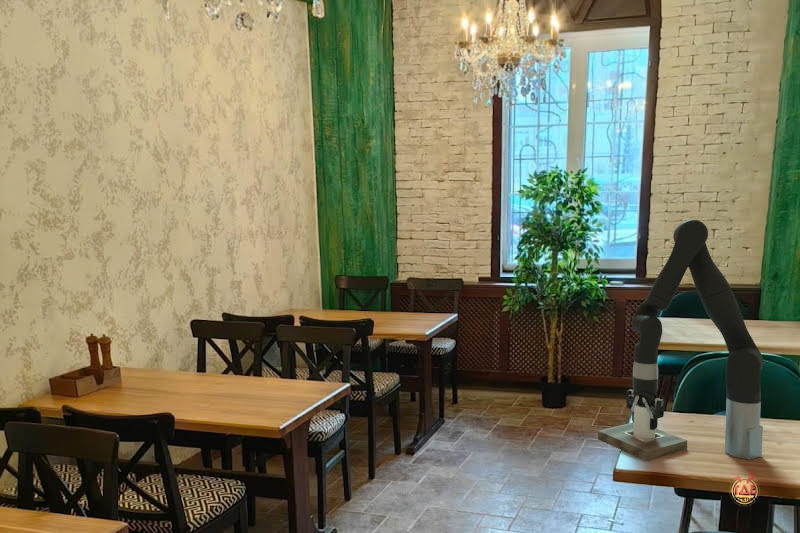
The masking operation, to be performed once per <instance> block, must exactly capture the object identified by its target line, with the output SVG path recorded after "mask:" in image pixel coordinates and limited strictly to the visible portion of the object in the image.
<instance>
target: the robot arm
mask: <svg viewBox="0 0 800 533" xmlns="http://www.w3.org/2000/svg"><path fill="white" fill-rule="evenodd" d="M708 237H709V230H708V228H707V225H705V223H704V222H702V221H700V220H698V219H688V220H685V221H683V222H681V223H680V224H679V225H677V227H676V228H675V229H674V231H673V241H674V245H673V248H672V249H671V252H670V254H669V256H668V259H667V260H666V263H665V264H664V266H663V267H662V269H661V270H660V272H659V274H658V275H657V277H656V279H655V281H654V282H653V284H652V286H651V289H650V290H649V292H648V294H647V297H646V298H645V300H644V301H643V302H642V303H641V304H640V306H639V307H638V309H637V310H636V311H635V313H634V314H633V316H632V319H631V328H632V330H633V331H634V332H635V333H636V334H639V335H640V338H639V342H637V343H636V344H635V345H634V350H633V365H632V366H633V368H632V389H626V391H625V402H626V409H629V410H630V411H631V421H632V423H634V407H635V406H636V405H637V404H639V405H641V406H644V407H647V408H646V409H647V411H648V412H649V415H650V417H651V418H650V429H651V430H655V429H658V425H659V424H658V420H659V419H661V418H664V417H665V416H664V415H665V406H666V399H661V398H658V396H657V392H658V391H659V390H658V389H659V365H658V360H659V359H658V358H659V354H658V350H659V347H660V344H661V340H662V335H663V324H662V322H661V320H660V318H659V317H658V316H659V314H660V313H661V312H664V311H667V310H668V308H669V307H670V305H671V303H672V301H673V299H674V296H675V295H676V293H677V291H678V289H679V286H680V284H681V282H682V280H683V277H684V276H685V274H686V272H687V270H688V269H689V272H690V276H691V278H692V280H693V283H694V286H695V289H696V291H697V293H698V296H699V299H700V301H701V304H702V306H703V309H704V310H705V312H706V314H707V315H708V318H710V320H711V321H712V323H713V324H714V325H715V327H716V328H717V329H718V331H719V332H720V334H721V336H722V338H723V341H724V342H725V345H726V348H727V351H728V354H729V356H728V357H727V359H726V364H725V365H726V367H725V390H726V403H725V406H726V407H725V408H726V409H725V411H726V412H725V429H724V432H725V433H724V453H726V454H728V455H729V456H732V457H735V458H738V459H744V460H748V461H750V460H754V459H758V458H760V457H762V456H763V454H762V453H763V431H764V426H762V425H761V423H760V421H761V409H762V408H761V405H762V403H761V402H762V392H761V374H762V369H763V368H764V357H763V355H762V352H761V351H760V350H759V348H758V346H757V345H756V343H755V341H754V339H753V338H752V336H751V334H750V332H749V330H748V327H747V326H746V324H745V321H744V317H743V314H742V313H741V312H742V311H741V309H740V307H739V304H738V302H737V299H736V297H735V294H734V293H733V289H732V288H731V285H730V284H729V282H728V280H727V279H726V277H725V275H724V274H723V273H722V271H721V270H720V269H719V267H718V266H717V265H716V264H715V262H714V260H713V258H712V256H711V253H710V251H709V249H708V245H707V240H708ZM653 406H654V407H653ZM650 407H653V408H650ZM653 411H654V414H653Z"/></svg>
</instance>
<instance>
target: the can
mask: <svg viewBox="0 0 800 533" xmlns="http://www.w3.org/2000/svg"><path fill="white" fill-rule="evenodd" d="M653 407H654V406H653ZM653 407H650V408H653ZM646 408H647V407H644V406H641V405H639V404H637V405H636V406H635V407H634V432H633V436H635V437H638V438H640V439H643V440H648V439H652V438H655V430H651V429H650V418H651V417H650V415H649V412H648V411H647V409H646ZM653 414H654V411H653Z"/></svg>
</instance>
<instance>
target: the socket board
mask: <svg viewBox="0 0 800 533" xmlns="http://www.w3.org/2000/svg"><path fill="white" fill-rule="evenodd" d="M633 432H634V423H633V422H629V423H626V424H621V425H615V426H611V427H608V428H604V429H599V430H597V440H598V441H601V442H602V443H605V444H607V445H609V446H611V447H614V448H616V449H618V450H621V451H623V452H625V453H627V454H628V455H629V454H630V455H632V456H634V457H637V458H638V459H641V460H643V461H645V462H649V461H651V460H655V459H659V458H663V457H666V456H670V455H674V454H677V453H680V452H684V451H688V440H687V439H684V438H682V437H679V436H677V435H673V434H671V433H668V432H666V431H662V430H660V429H658V428H656V429H655V438H652V439H648V440H643V439H640V438H638V437H635V436H633Z"/></svg>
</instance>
